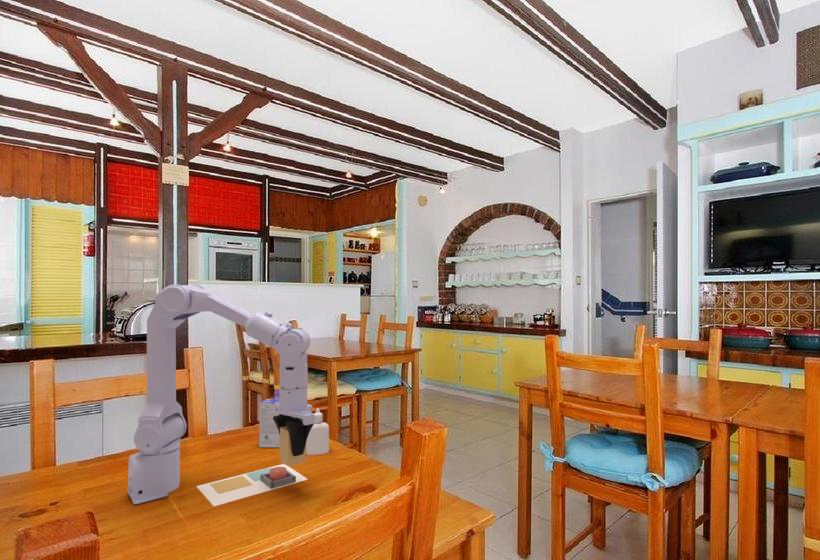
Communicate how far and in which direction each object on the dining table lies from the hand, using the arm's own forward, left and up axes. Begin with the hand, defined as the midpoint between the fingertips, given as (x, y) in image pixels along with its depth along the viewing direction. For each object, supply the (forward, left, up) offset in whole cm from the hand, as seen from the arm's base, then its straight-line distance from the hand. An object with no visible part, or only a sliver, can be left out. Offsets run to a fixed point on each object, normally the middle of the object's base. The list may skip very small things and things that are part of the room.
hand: (293, 451), depth 97 cm
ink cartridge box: (+11, +31, -9) cm, 34 cm away
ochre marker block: (0, 0, -2) cm, 2 cm away
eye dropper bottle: (+15, +17, -9) cm, 24 cm away
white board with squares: (-5, +9, -9) cm, 13 cm away
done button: (0, +6, -7) cm, 10 cm away
